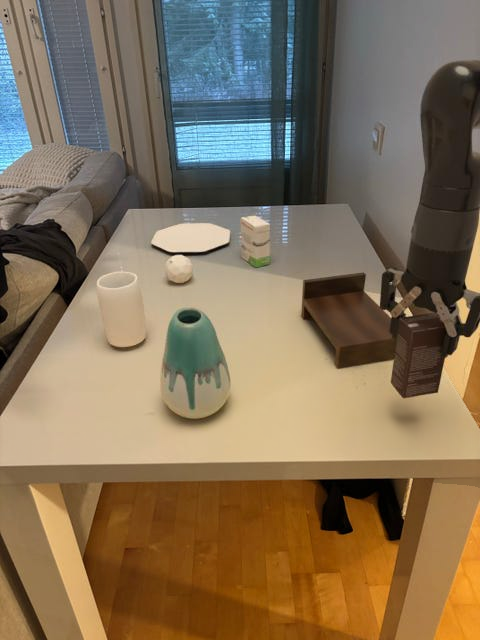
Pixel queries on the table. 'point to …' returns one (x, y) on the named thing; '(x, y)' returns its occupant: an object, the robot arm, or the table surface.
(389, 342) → the rack
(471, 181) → the robot arm
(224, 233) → the plate
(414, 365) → the box
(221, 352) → the vase
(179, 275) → the ornament
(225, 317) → the table surface
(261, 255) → the ink box
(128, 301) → the cup
